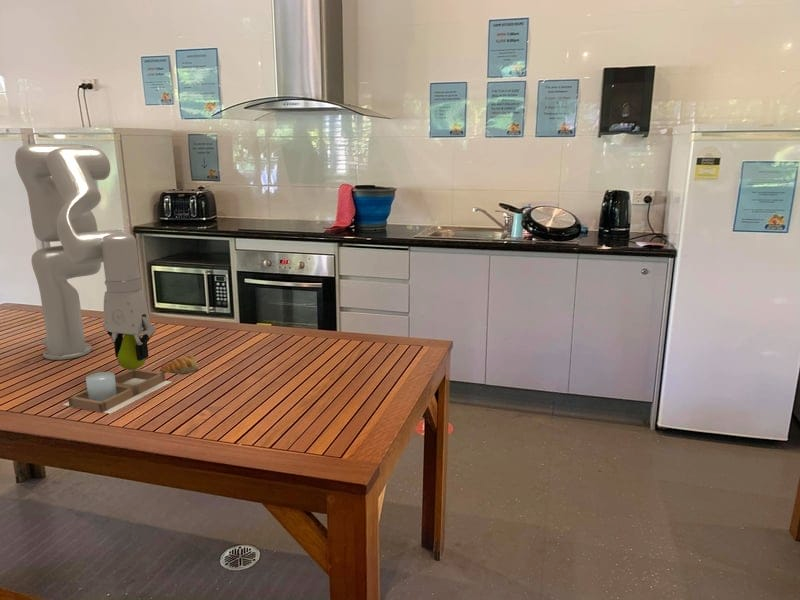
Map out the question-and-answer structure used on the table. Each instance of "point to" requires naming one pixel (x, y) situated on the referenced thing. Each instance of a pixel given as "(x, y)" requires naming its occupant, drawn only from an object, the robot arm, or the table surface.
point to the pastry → (180, 365)
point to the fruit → (129, 353)
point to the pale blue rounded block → (101, 386)
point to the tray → (122, 391)
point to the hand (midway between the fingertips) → (132, 356)
